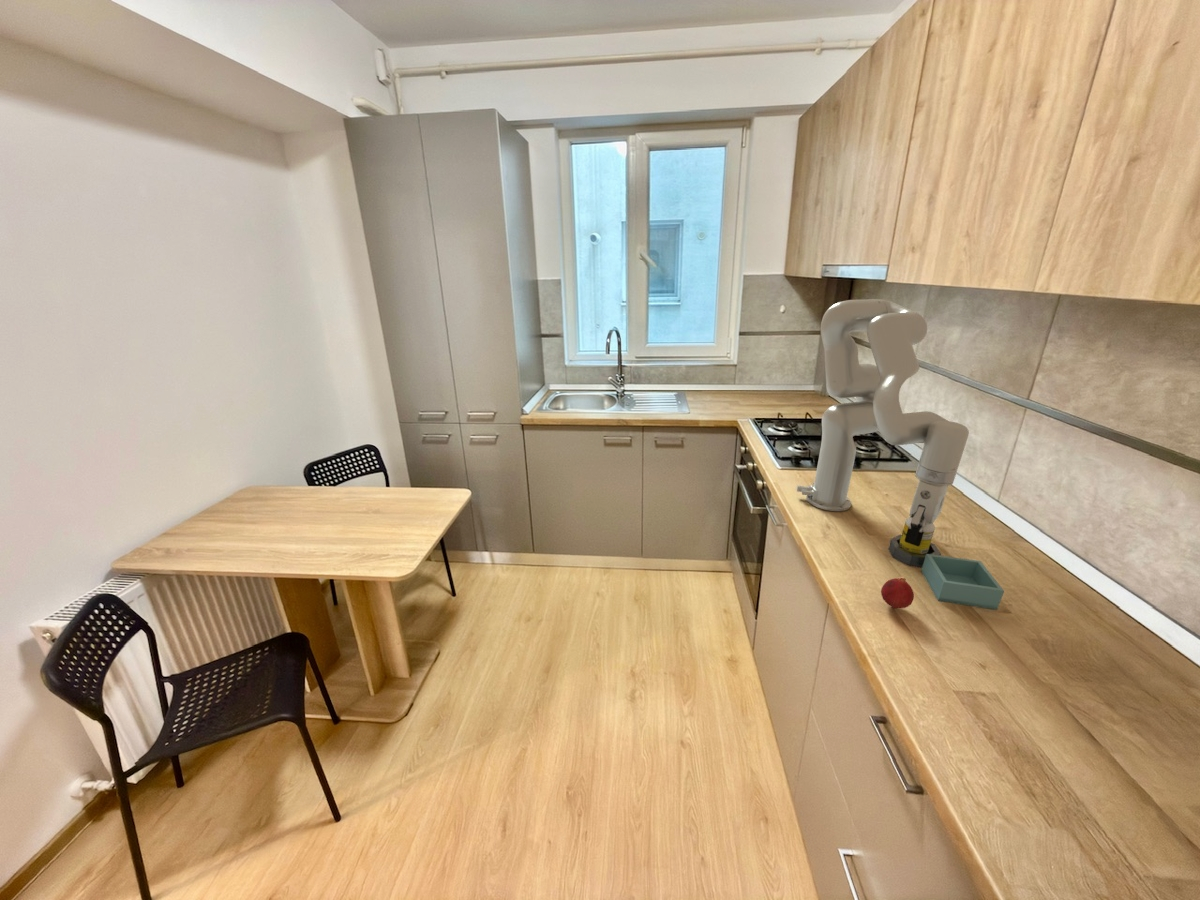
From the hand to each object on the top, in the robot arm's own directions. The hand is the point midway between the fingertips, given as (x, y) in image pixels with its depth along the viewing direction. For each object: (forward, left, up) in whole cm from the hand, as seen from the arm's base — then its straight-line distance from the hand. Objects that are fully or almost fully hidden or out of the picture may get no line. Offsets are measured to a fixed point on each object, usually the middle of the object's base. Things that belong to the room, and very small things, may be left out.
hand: (916, 537), depth 117 cm
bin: (+6, -12, -5) cm, 15 cm away
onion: (-10, -23, -6) cm, 25 cm away
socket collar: (0, 0, -5) cm, 5 cm away
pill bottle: (0, 0, -4) cm, 4 cm away
